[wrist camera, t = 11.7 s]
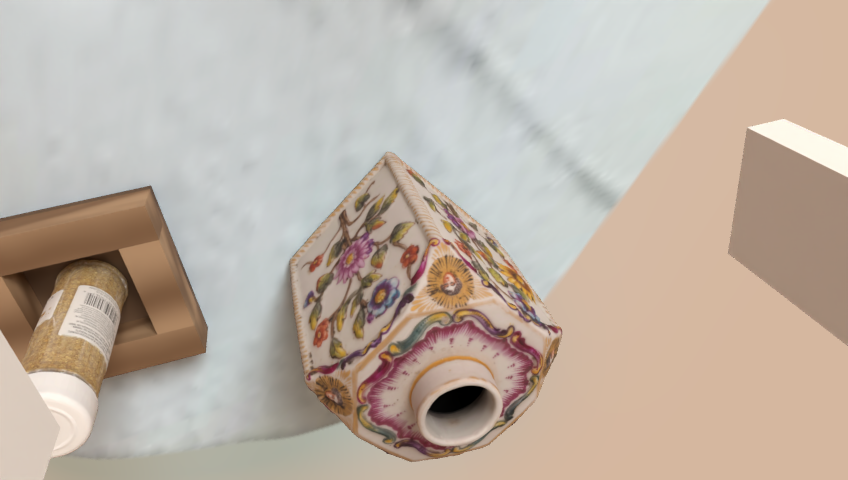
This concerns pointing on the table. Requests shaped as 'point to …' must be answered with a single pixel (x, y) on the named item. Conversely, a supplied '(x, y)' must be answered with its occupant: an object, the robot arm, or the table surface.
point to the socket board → (120, 247)
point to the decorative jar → (417, 320)
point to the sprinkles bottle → (76, 346)
